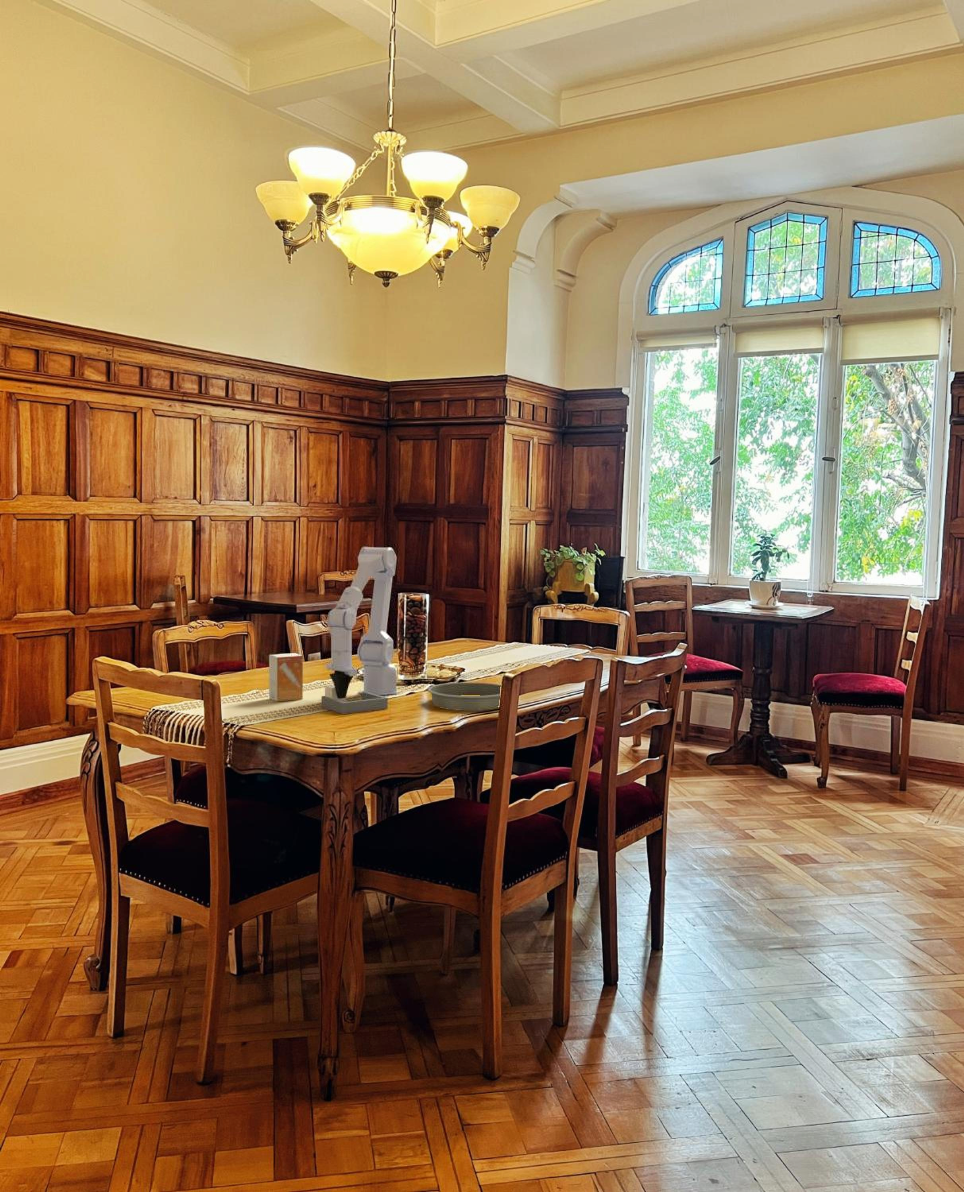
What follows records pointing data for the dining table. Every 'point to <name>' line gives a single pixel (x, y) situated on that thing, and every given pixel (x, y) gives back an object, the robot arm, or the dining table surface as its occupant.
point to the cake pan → (452, 698)
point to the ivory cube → (332, 693)
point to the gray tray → (356, 704)
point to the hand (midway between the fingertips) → (341, 698)
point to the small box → (286, 677)
